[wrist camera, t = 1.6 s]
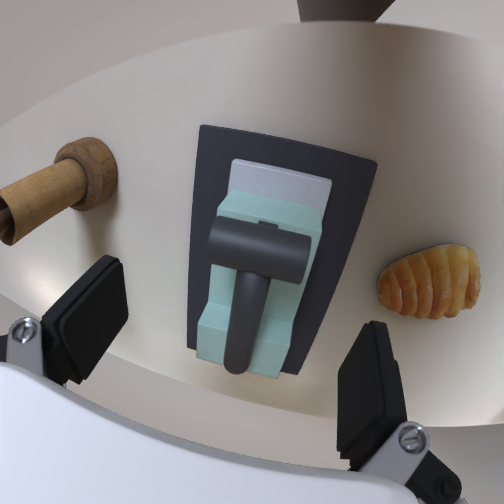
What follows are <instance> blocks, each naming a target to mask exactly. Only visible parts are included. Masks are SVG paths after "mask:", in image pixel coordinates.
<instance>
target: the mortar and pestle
mask: <svg viewBox="0 0 504 504" xmlns="http://www.w3.org/2000/svg"><path fill="white" fill-rule="evenodd" d="M116 179H117V169H116V163H115V160H114V157H113V155H112V153H111V151H110V149H109V148H108V147H107V146H106V145H105V143H103V142H102V141H101V140H99V139H97V138H93V137H86V138H82V139H79V140H77V141H74V142H70V143H68V144H66V145H65V146H63V147H62V148H61V149H60V150H59V152H58V153H57V155H56V157H55V160H54V164H53V165H51V166H49V167H46V168H44V169H42V170H40V171H38V172H36V173H33V174H31V175H29V176H27V177H25V178H23V179H21V180H19V181H17V182H15V183H13V184H11V185H9V186H7V187H5V188H3V189H1V190H0V240H1V241H2V242H3V243H4V244H6V245H9V246H12V245H14V244H15V243H16V242H18V241H19V240H20V239H22V238H23V237H24V236H26V235H27V234H28V233H30V232H31V231H32V230H34V229H35V228H37V227H38V226H40V225H41V224H42V223H44V222H45V221H47V220H49V219H50V218H52V217H53V216H55V215H56V214H58V213H59V212H61V211H63V210H64V209H66V208H68V207H71V208H73V209H75V210H78V211H87V210H90V209H92V208H94V207H95V206H97V205H99V204H100V203H102V202H103V201H105V200H106V199H107V198H108V197H109V196H110V195H111V193H112V192H113V190H114V187H115V184H116Z"/></svg>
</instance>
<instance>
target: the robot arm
mask: <svg viewBox="0 0 504 504" xmlns="http://www.w3.org/2000/svg"><path fill="white" fill-rule="evenodd" d="M128 315H129V313H128V306H127V298H126V290H125V282H124V273H123V265H122V263H120V260H119V259H118V258H116V257H112V256H109V255H104V256H103V257H101V258H100V259H99V260H98V261H97V262H96V263H95V264H94V265H93V266H92V267H91V268H90V269H89V270H88V271H87V272H86V273H84V274H83V275H82V276H81V277H80V278H79V279H78V280H77V281H76V282H75V283H74V284H73V285H72V286H71V287H70V288H69V289H68V290H67V291H66V292H65V293H64V294H63V295H62V296H61V297H60V298H59V299H58V300H57V301H56V302H55V303H54V305H53V306H52V307H51V308H50V309H49V310H48V311H47V312H46V313H45V314H44V315H43V316H42V320H41V321H40V322H39V321H38V320H36V319H35V318H32V317H24V318H20V319H19V320H17V321H15V322H14V323H13V324H12V326H11V327H10V329H9V332H8V334H7V335H3V336H0V504H468V503H467V501H466V500H465V498H463V499H461V498H460V495H461V490H462V486H461V482H460V479H459V478H458V476H457V475H456V474H455V473H454V472H452V471H451V470H450V469H449V468H448V467H447V466H446V465H445V464H443V463H442V462H441V461H440V460H439V459H438V458H437V457H436V456H435V455H433V454H432V453H431V452H430V451H429V450H428V449H429V446H430V438H429V434H428V432H427V431H426V429H425V428H424V427H423V426H422V425H420V424H419V423H417V422H413V421H407V413H406V406H405V400H404V394H403V388H402V382H401V377H400V371H399V366H398V363H397V361H396V360H394V357H393V352H392V347H391V342H390V338H389V333H388V329H387V325H386V323H383V322H378V321H373V320H372V321H370V322H369V324H367V323H365V324H364V326H363V327H362V329H361V331H360V333H359V335H358V337H357V339H356V340H355V342H354V344H353V346H352V348H351V349H350V351H349V353H348V355H347V356H346V358H345V360H344V362H343V363H342V365H341V367H340V369H339V371H338V416H337V451H339V452H341V453H340V459H350V466H351V468H349V469H348V470H347V471H345V470H336V469H325V468H317V467H309V466H301V465H295V464H288V463H282V462H275V461H270V460H265V459H259V458H254V457H250V456H245V455H240V454H236V453H232V452H228V451H224V450H220V449H216V448H212V447H208V446H205V445H202V444H198V443H195V442H192V441H189V440H185V439H182V438H179V437H176V436H173V435H170V434H167V433H165V432H161V431H159V430H156V429H154V428H151V427H148V426H146V425H143V424H141V423H138V422H136V421H133V420H131V419H128V418H126V417H124V416H121V415H119V414H117V413H115V412H112V411H110V410H108V409H106V408H103V407H102V406H99V405H97V404H95V403H93V402H91V401H89V400H87V399H85V398H83V397H81V396H79V395H77V394H75V393H73V392H72V391H70V390H68V389H67V388H66V382H67V381H68V379H69V380H71V381H73V382H75V383H77V384H80V383H81V382H82V380H83V379H84V380H86V379H87V378H88V376H89V375H90V374H91V372H92V371H93V369H94V368H95V366H96V365H97V363H98V362H99V360H100V359H101V357H102V356H103V354H104V353H105V351H106V350H107V349H108V347H109V346H110V344H111V343H112V341H113V340H114V338H115V337H116V336H117V334H118V333H119V331H120V330H121V329H122V327H123V326H124V324H125V323H126V321H127V319H128Z"/></svg>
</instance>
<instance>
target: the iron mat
mask: <svg viewBox="0 0 504 504" xmlns="http://www.w3.org/2000/svg"><path fill="white" fill-rule="evenodd" d="M234 159H241V160H246V161H251V162H256V163H261V164H266V165H271V166H276V167H280V168H285V169H289V170H294V171H298V172H302V173H307V174H311V175H315V176H319V177H323V178H327V179H331V181H332V187H331V190H330V194H329V198H328V201H327V205H326V209H325V212H324V216H323V219H322V234H321V237H320V240H319V244H318V247H317V250H316V254H315V257H314V260H313V263H312V266H311V269H310V273H309V276H308V279H307V282H306V285H305V288H304V291H303V294H302V297H301V300H300V303H299V306H298V309H297V312H296V315H295V318H294V321H293V326H292V334H291V342H290V347H289V350H288V352H287V355H286V358H285V360H284V363H283V365H282V368H281V370H280V372H285V373H290V374H294V375H298V373H299V371H300V369H301V367H302V365H303V363H304V360H305V358H306V356H307V354H308V352H309V350H310V347H311V345H312V343H313V341H314V338H315V336H316V334H317V332H318V329H319V327H320V325H321V322H322V320H323V318H324V315H325V313H326V311H327V308H328V306H329V303H330V301H331V298H332V296H333V293H334V291H335V288H336V286H337V283H338V281H339V278H340V276H341V273H342V270H343V268H344V265H345V262H346V260H347V257H348V254H349V251H350V249H351V246H352V243H353V240H354V237H355V235H356V232H357V229H358V226H359V223H360V220H361V217H362V214H363V211H364V208H365V205H366V202H367V198H368V195H369V192H370V189H371V185H372V182H373V179H374V175H375V172H376V169H377V165H378V164H377V163H376V162H375V161H371V160H368V159H365V158H361V157H358V156H354V155H351V154H347V153H343V152H340V151H336V150H332V149H328V148H324V147H320V146H316V145H312V144H308V143H303V142H299V141H295V140H290V139H285V138H280V137H275V136H270V135H265V134H260V133H254V132H249V131H243V130H237V129H231V128H224V127H217V126H210V125H200V130H199V139H198V149H197V158H196V169H195V180H194V192H193V204H192V218H191V234H190V252H189V274H188V307H187V348H190V349H194V350H197V330H198V322H199V320H200V318H201V315H202V313H203V311H204V309H205V307H206V305H207V303H208V298H209V287H210V276H211V265H212V264H209V263H208V262H207V261H206V246H207V240H208V236H209V232H210V229H211V226H212V224H213V222H214V220H215V218H216V217H217V208H218V207H219V205H220V204H221V203H222V202H223V200H224V199H225V198H226V197H227V193H228V186H229V178H230V171H231V164H232V161H233V160H234Z"/></svg>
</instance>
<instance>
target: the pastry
mask: <svg viewBox="0 0 504 504" xmlns="http://www.w3.org/2000/svg"><path fill="white" fill-rule="evenodd" d="M377 287H378V295H379V302H380V304H381V305H383V306H385V307H386V308H387V309H388V310H392V311H395V312H398V313H399V314H401V315H402V316H405V315H412V316H414V317H416V318H418V319H420V318H423V317H426V318H428V319H439V318H440V317H441V316H442V315H444V316H445V317H447V318H451V317H455V316H456V315H457V314H458V313H459V311H460V310H463V309H467V308H468V309H471V308H472V307H473V306H474V305H475V304H476V301H477V299H478V296H479V292H480V268H479V263H478V260H477V257H476V254H475V252H474V251H473V250H472V249H470V248H468V247H464V246H460V245H456V244H446V245H442V244H441V245H437V246H435V247H430V248H428V249H426V250H422V251H418V252H417V253H415V254H412V255H411V254H410V255H409V256H406V257H404V258H401V259H399V260H397V261H395V262H394V263H392V264H391V265H390V266H389V267H387V268H386V269H384V270H383V271H382V273H381V274H380V276H379V278H378V285H377Z"/></svg>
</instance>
